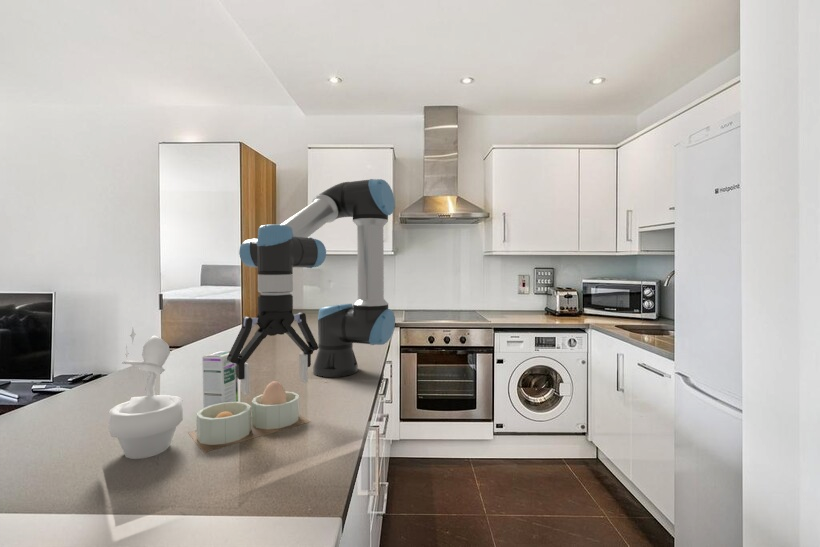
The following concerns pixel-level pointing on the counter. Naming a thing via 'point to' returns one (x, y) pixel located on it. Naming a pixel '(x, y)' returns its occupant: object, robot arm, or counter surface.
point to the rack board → (253, 434)
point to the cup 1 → (223, 423)
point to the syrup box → (219, 379)
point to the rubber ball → (224, 414)
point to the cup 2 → (275, 412)
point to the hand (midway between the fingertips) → (275, 387)
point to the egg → (274, 394)
